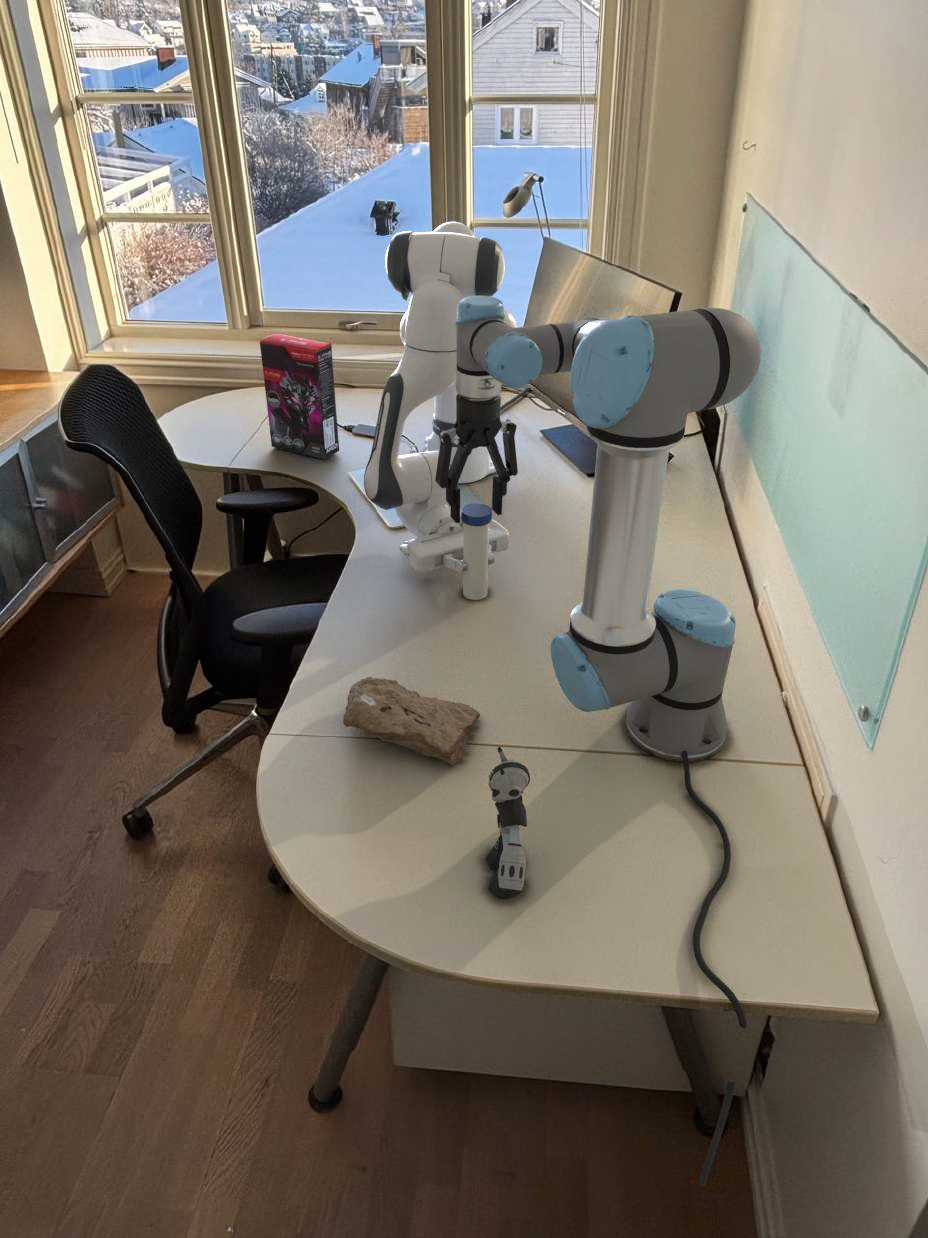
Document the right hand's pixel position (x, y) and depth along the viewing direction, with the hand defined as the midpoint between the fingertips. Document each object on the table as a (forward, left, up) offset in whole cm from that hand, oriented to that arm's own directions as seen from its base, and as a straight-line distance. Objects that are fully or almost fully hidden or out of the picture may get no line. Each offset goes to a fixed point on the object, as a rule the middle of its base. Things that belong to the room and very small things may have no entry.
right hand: (476, 515), depth 167 cm
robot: (-65, -21, -17) cm, 70 cm away
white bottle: (0, 0, -17) cm, 17 cm away
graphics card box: (+53, +58, -17) cm, 80 cm away
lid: (0, 0, +1) cm, 1 cm away
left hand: (-1, -1, -10) cm, 10 cm away
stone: (-42, 0, -17) cm, 45 cm away
